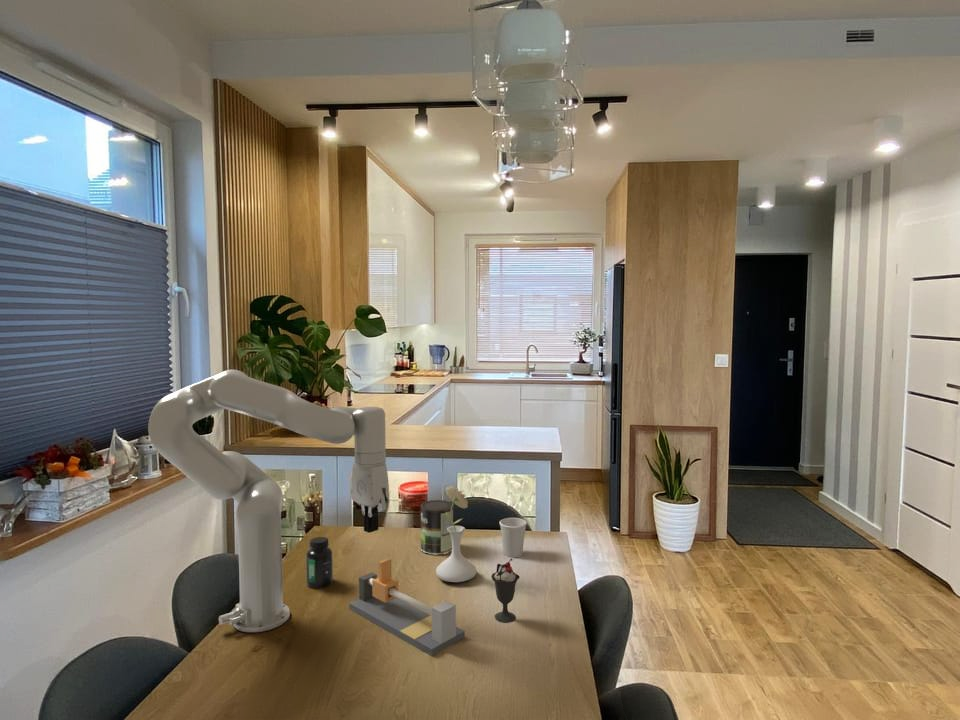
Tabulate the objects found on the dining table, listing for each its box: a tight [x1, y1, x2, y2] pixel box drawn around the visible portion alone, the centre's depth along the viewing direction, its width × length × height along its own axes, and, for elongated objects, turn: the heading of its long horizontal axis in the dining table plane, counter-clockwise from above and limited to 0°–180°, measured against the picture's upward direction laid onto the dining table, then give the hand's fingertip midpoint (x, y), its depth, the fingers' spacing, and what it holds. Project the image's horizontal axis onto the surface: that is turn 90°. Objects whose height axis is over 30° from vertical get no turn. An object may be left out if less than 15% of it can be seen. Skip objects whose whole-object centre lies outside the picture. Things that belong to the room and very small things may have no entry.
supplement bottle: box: [305, 536, 334, 589], centre depth 156 cm, size 7×7×12 cm
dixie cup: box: [499, 517, 528, 559], centre depth 176 cm, size 8×8×10 cm
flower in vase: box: [435, 485, 478, 583], centre depth 160 cm, size 13×11×25 cm
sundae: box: [491, 558, 521, 623], centre depth 138 cm, size 7×7×15 cm
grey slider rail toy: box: [348, 572, 466, 657], centre depth 136 cm, size 30×10×8 cm, turn 47°
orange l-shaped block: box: [372, 557, 399, 603], centre depth 140 cm, size 5×4×9 cm
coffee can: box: [419, 499, 454, 555], centre depth 180 cm, size 10×10×14 cm
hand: (371, 530), depth 143 cm, fingers closed
